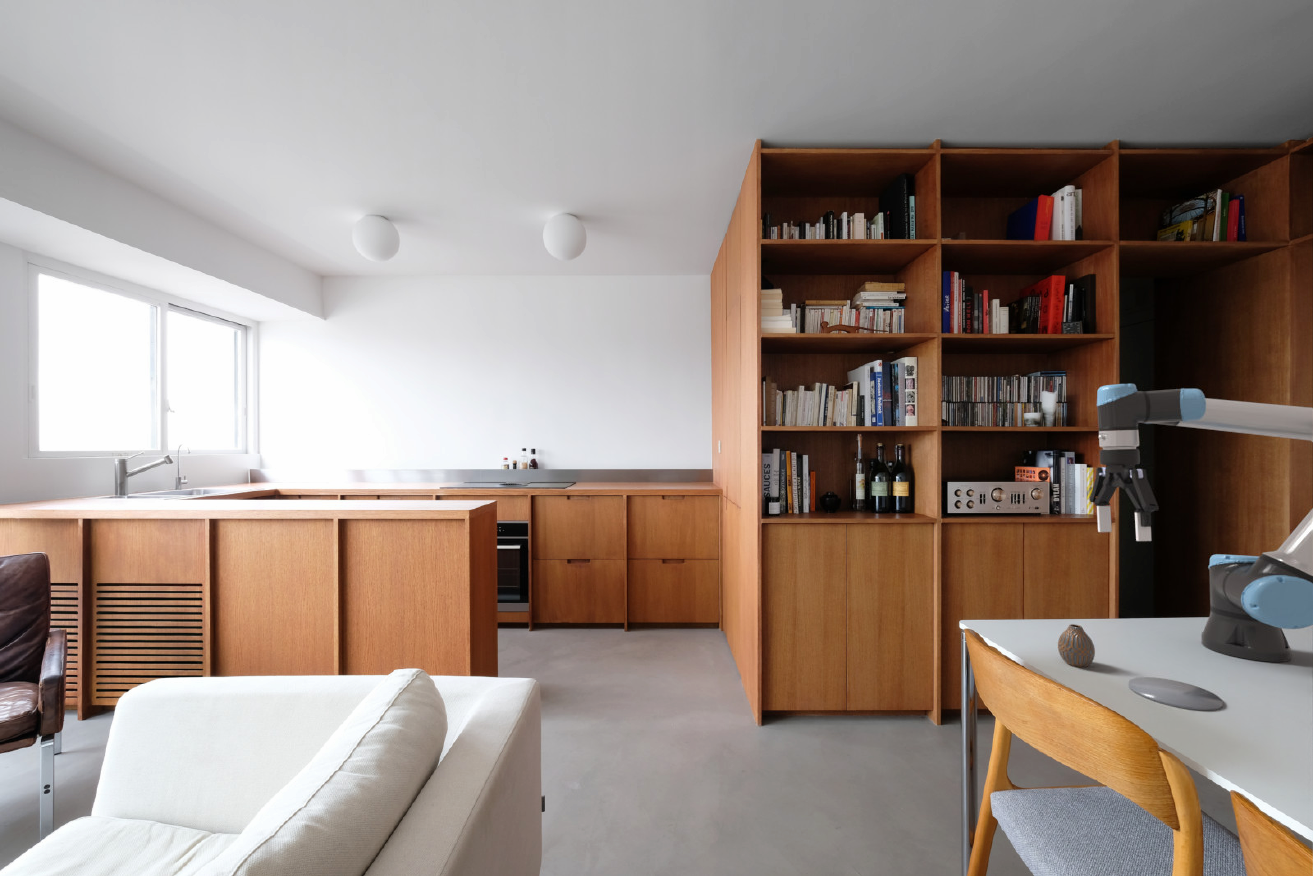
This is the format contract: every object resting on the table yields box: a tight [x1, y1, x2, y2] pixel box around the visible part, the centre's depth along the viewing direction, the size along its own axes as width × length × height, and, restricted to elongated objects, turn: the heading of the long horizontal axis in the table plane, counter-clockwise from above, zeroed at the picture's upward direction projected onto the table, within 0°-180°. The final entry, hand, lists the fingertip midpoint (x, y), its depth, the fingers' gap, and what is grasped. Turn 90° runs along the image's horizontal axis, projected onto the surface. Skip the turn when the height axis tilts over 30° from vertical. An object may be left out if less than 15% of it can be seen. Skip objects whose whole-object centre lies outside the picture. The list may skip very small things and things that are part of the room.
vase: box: [1057, 623, 1096, 668], centre depth 132 cm, size 7×7×9 cm
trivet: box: [1128, 676, 1223, 712], centre depth 115 cm, size 14×14×1 cm
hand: (1123, 536), depth 138 cm, fingers open, 13 cm apart
